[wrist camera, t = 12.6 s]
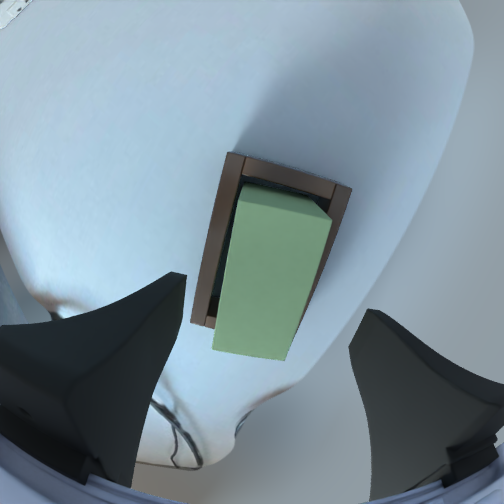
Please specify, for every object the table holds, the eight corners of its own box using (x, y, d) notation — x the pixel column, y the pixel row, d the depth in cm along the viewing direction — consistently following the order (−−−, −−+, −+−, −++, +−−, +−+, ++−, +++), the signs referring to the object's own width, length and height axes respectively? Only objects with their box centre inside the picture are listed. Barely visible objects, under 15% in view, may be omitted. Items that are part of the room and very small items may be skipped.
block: (307, 194, 17) (333, 220, 11) (277, 303, 20) (284, 361, 14) (244, 181, 16) (238, 199, 11) (222, 293, 19) (211, 350, 14)
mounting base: (339, 182, 16) (353, 189, 14) (287, 324, 20) (290, 345, 18) (231, 150, 16) (227, 151, 13) (196, 303, 20) (189, 323, 17)
